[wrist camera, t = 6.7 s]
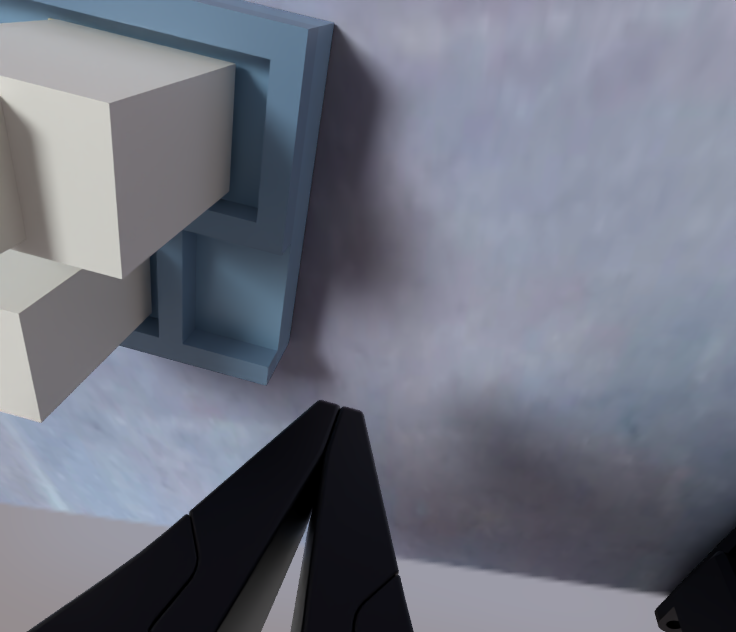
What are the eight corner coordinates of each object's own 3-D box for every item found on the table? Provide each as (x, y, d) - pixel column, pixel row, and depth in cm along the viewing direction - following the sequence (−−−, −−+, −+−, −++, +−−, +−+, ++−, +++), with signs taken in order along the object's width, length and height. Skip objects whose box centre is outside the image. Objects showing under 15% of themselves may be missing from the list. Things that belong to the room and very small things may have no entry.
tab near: (235, 63, 10) (77, 112, 6) (229, 191, 11) (97, 299, 7) (57, 19, 10) (-213, 38, 6) (72, 151, 11) (-140, 236, 7)
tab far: (148, 221, 12) (-11, 334, 8) (151, 312, 13) (17, 446, 9) (2, 183, 12) (-224, 275, 8) (20, 277, 13) (-165, 394, 9)
